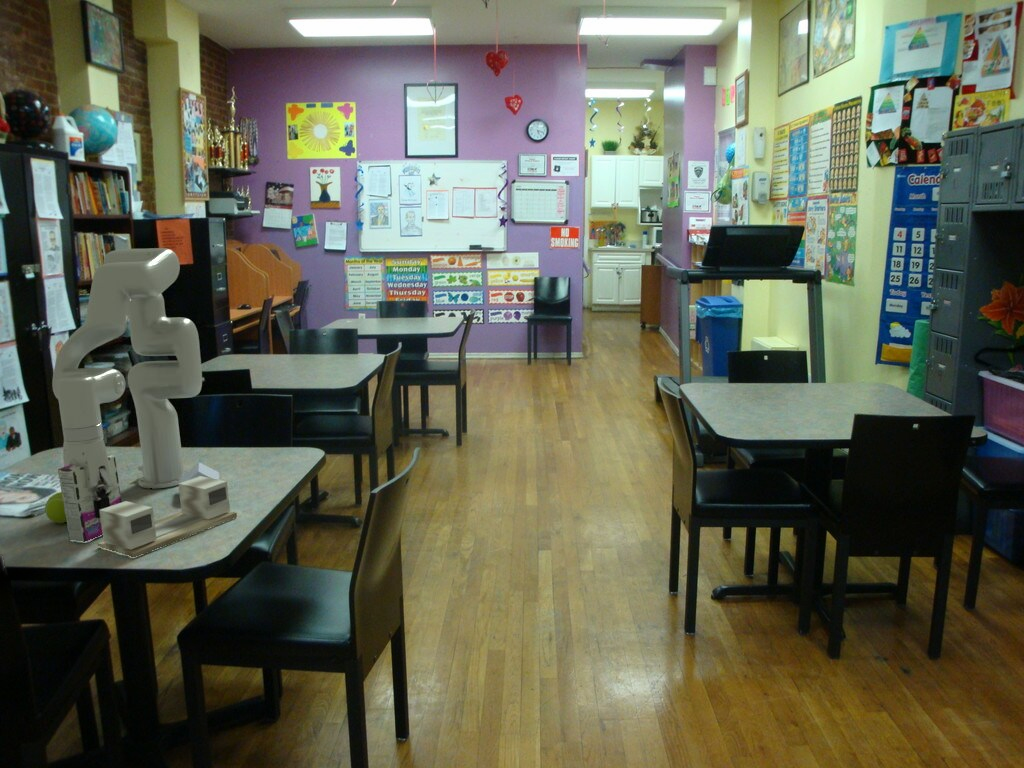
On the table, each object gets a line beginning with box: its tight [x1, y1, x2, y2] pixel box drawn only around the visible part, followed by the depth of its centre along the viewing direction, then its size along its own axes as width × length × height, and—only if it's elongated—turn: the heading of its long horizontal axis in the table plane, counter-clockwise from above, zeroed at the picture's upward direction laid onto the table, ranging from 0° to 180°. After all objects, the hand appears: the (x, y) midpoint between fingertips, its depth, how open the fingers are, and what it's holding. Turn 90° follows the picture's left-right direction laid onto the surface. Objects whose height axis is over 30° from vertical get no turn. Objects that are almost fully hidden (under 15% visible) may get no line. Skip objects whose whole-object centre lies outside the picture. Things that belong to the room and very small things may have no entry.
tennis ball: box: [44, 491, 67, 524], centre depth 190 cm, size 7×7×7 cm
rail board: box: [97, 476, 238, 557], centre depth 181 cm, size 12×26×8 cm, turn 148°
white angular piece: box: [181, 462, 220, 482], centre depth 206 cm, size 9×7×13 cm
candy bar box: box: [57, 454, 123, 542], centre depth 181 cm, size 11×5×16 cm, turn 160°
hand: (94, 513), depth 182 cm, fingers closed on candy bar box, 5 cm apart
